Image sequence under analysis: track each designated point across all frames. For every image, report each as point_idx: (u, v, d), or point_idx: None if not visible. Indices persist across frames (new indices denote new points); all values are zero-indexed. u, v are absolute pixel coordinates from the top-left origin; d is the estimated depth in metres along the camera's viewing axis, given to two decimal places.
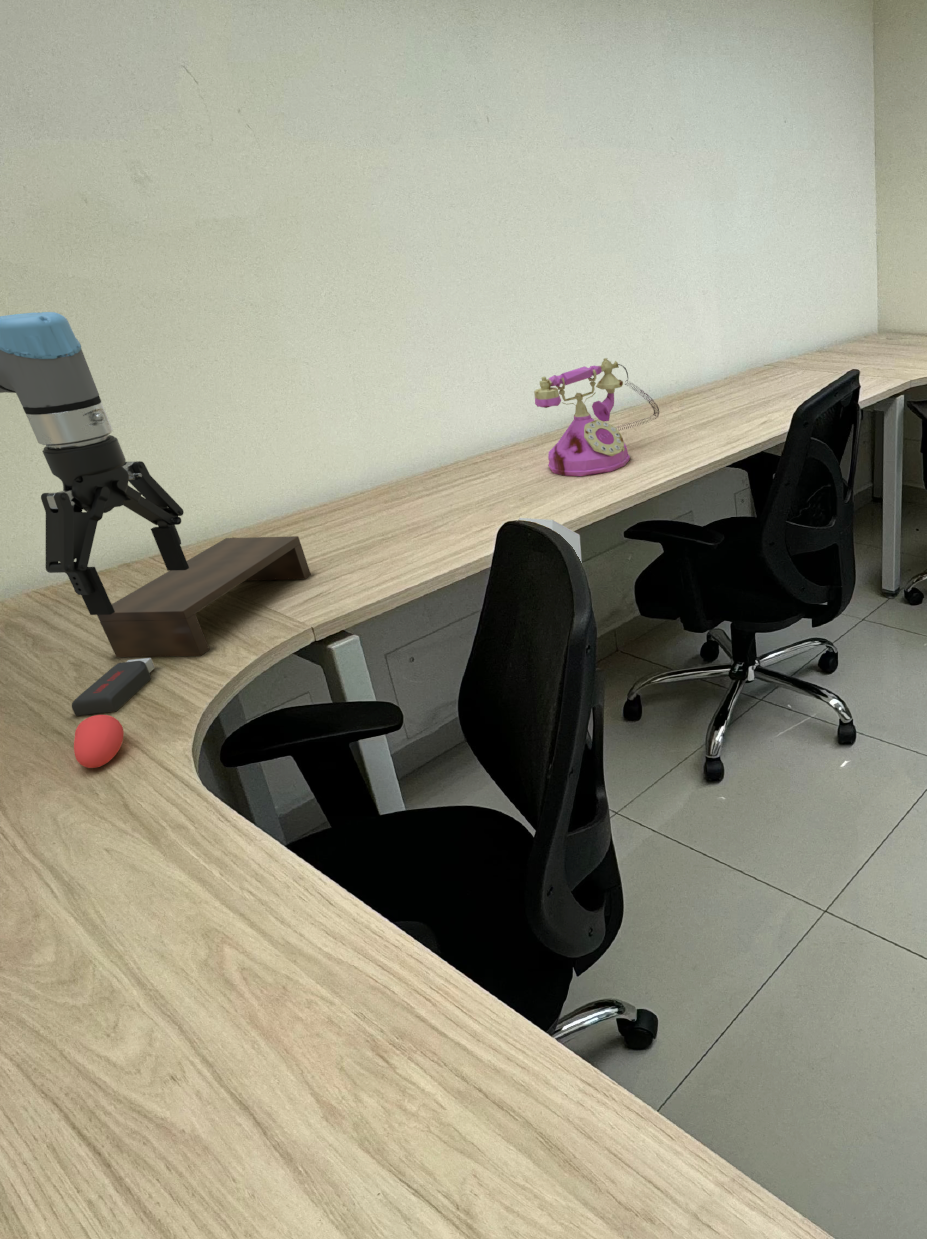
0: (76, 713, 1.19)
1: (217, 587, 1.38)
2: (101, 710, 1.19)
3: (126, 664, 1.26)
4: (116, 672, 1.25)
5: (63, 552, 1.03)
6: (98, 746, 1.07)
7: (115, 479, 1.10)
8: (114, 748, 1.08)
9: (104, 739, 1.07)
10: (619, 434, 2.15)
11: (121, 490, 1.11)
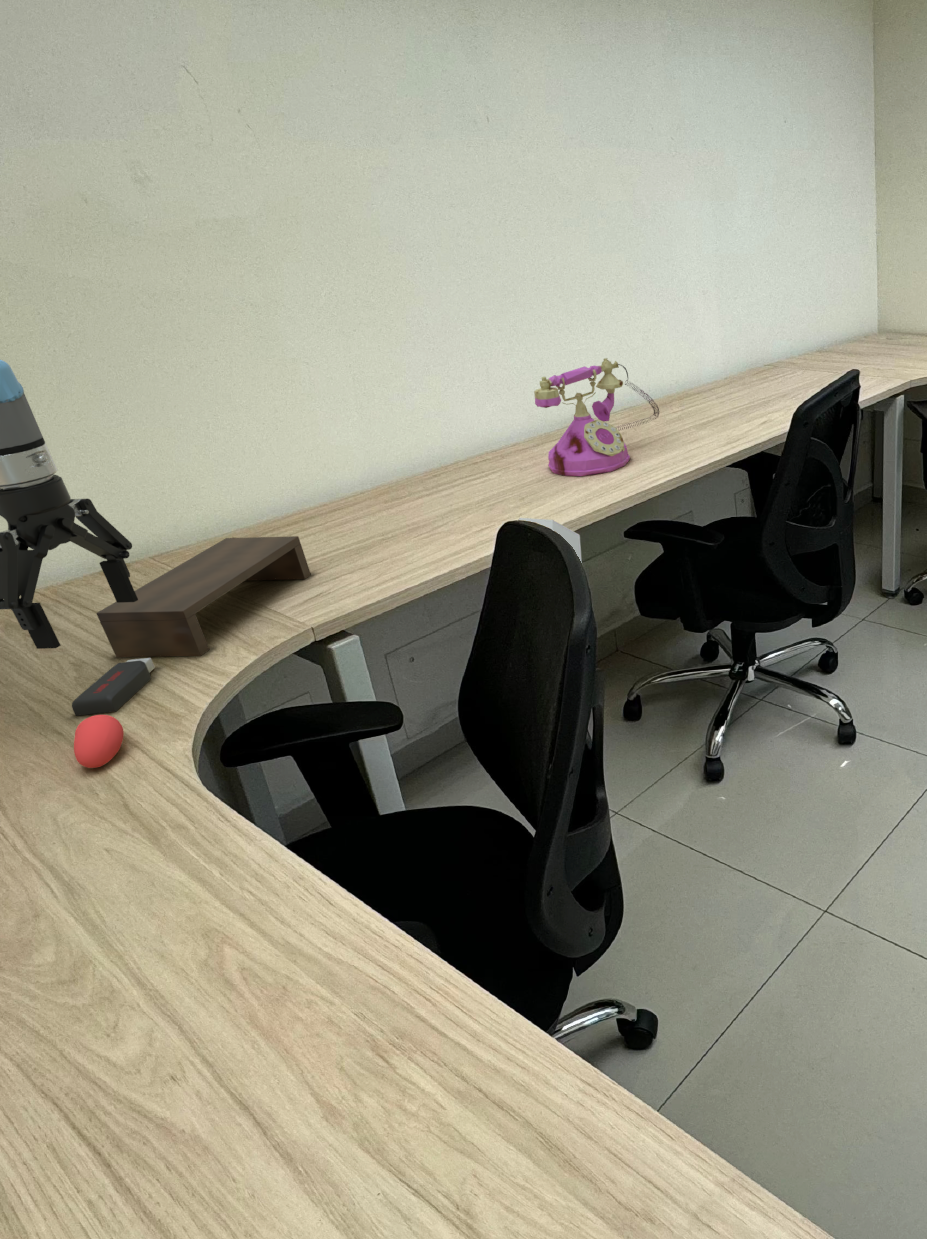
0: (76, 713, 1.19)
1: (217, 587, 1.38)
2: (101, 710, 1.19)
3: (126, 664, 1.26)
4: (116, 672, 1.25)
5: (7, 590, 1.07)
6: (98, 746, 1.07)
7: (60, 516, 1.14)
8: (114, 748, 1.08)
9: (104, 739, 1.07)
10: (619, 434, 2.15)
11: (67, 527, 1.15)
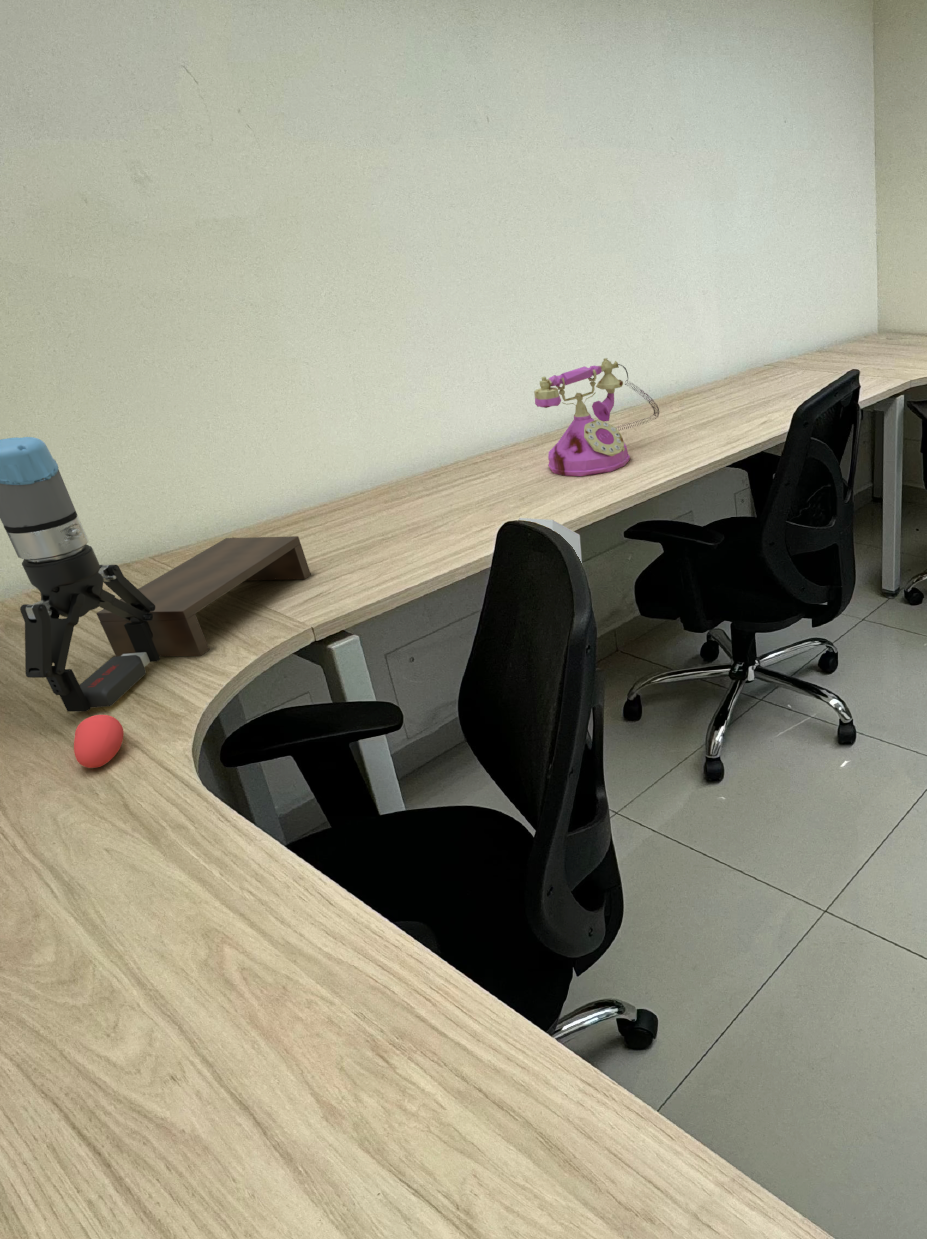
0: None
1: (217, 587, 1.38)
2: (96, 704, 1.19)
3: (121, 658, 1.26)
4: (111, 666, 1.24)
5: (42, 659, 1.12)
6: (98, 746, 1.07)
7: (90, 584, 1.19)
8: (114, 748, 1.08)
9: (104, 739, 1.07)
10: (619, 434, 2.15)
11: (96, 594, 1.19)
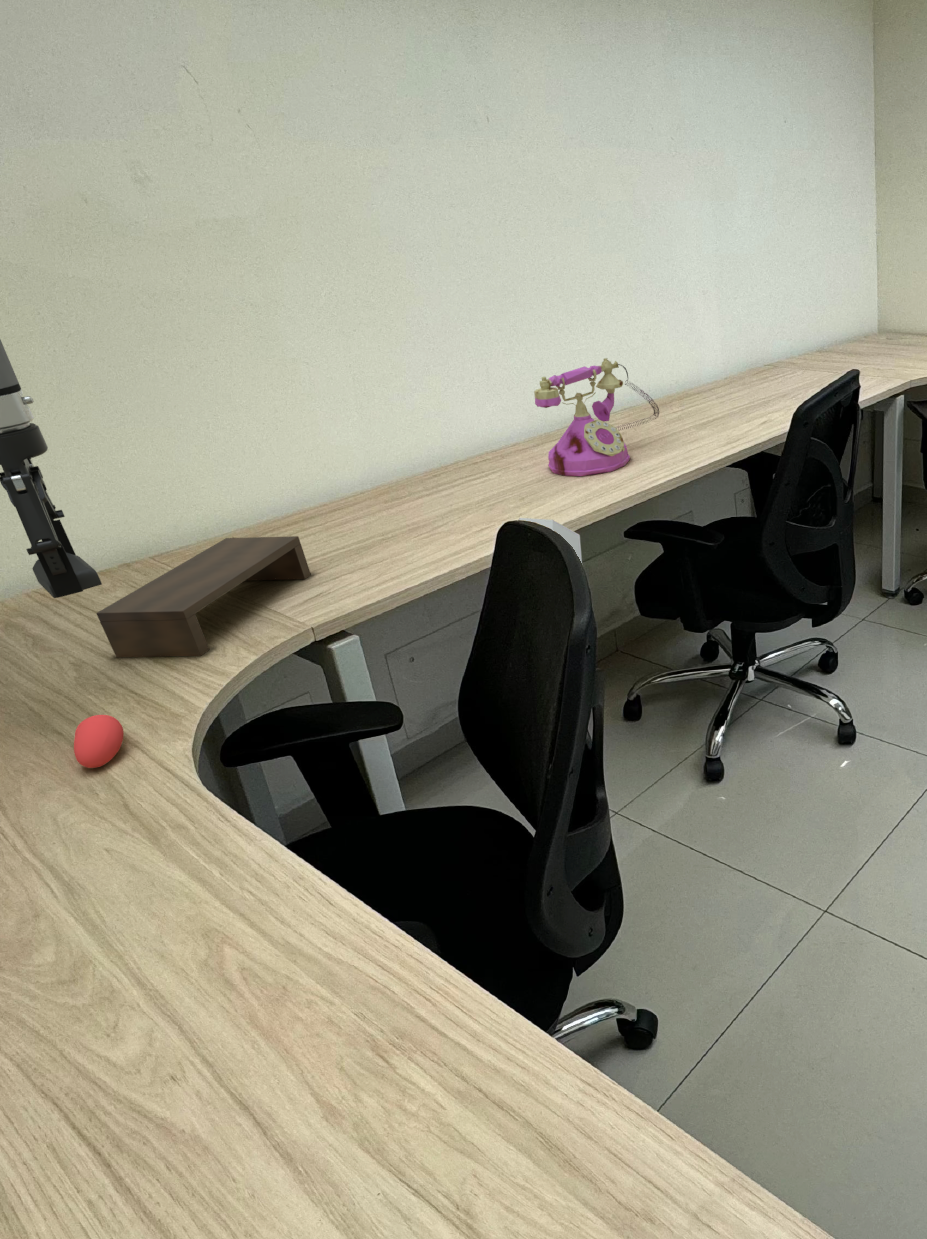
0: (55, 594, 1.11)
1: (217, 587, 1.38)
2: (85, 585, 1.14)
3: None
4: None
5: (49, 528, 1.07)
6: (98, 746, 1.07)
7: (30, 466, 1.12)
8: (114, 748, 1.08)
9: (104, 739, 1.07)
10: (619, 434, 2.15)
11: (41, 476, 1.12)
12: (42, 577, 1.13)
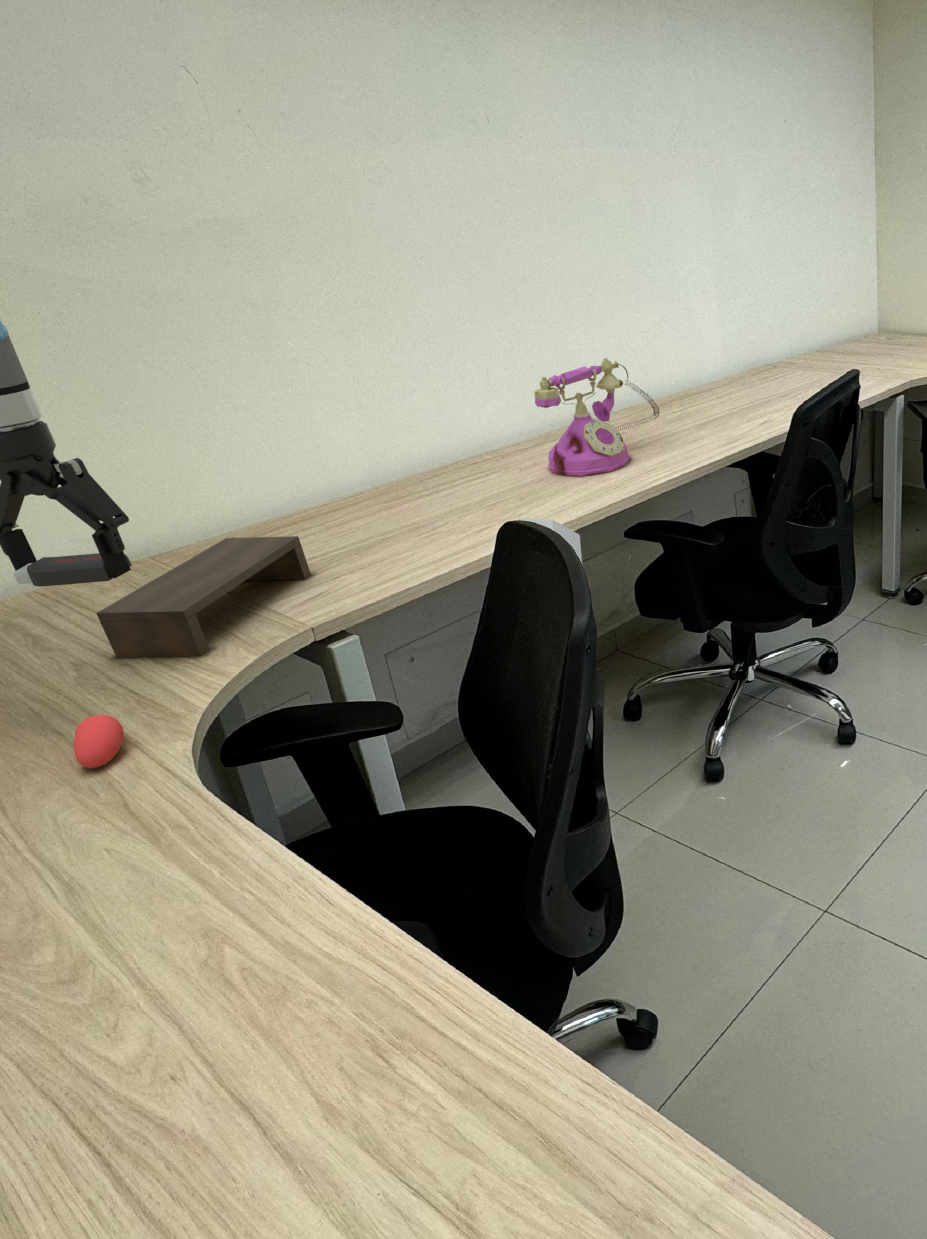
0: (109, 577, 1.16)
1: (217, 587, 1.38)
2: None
3: (39, 562, 1.16)
4: (55, 562, 1.16)
5: (116, 505, 1.14)
6: (98, 746, 1.07)
7: None
8: (114, 748, 1.08)
9: (104, 739, 1.07)
10: (619, 434, 2.15)
11: None
12: (77, 568, 1.15)
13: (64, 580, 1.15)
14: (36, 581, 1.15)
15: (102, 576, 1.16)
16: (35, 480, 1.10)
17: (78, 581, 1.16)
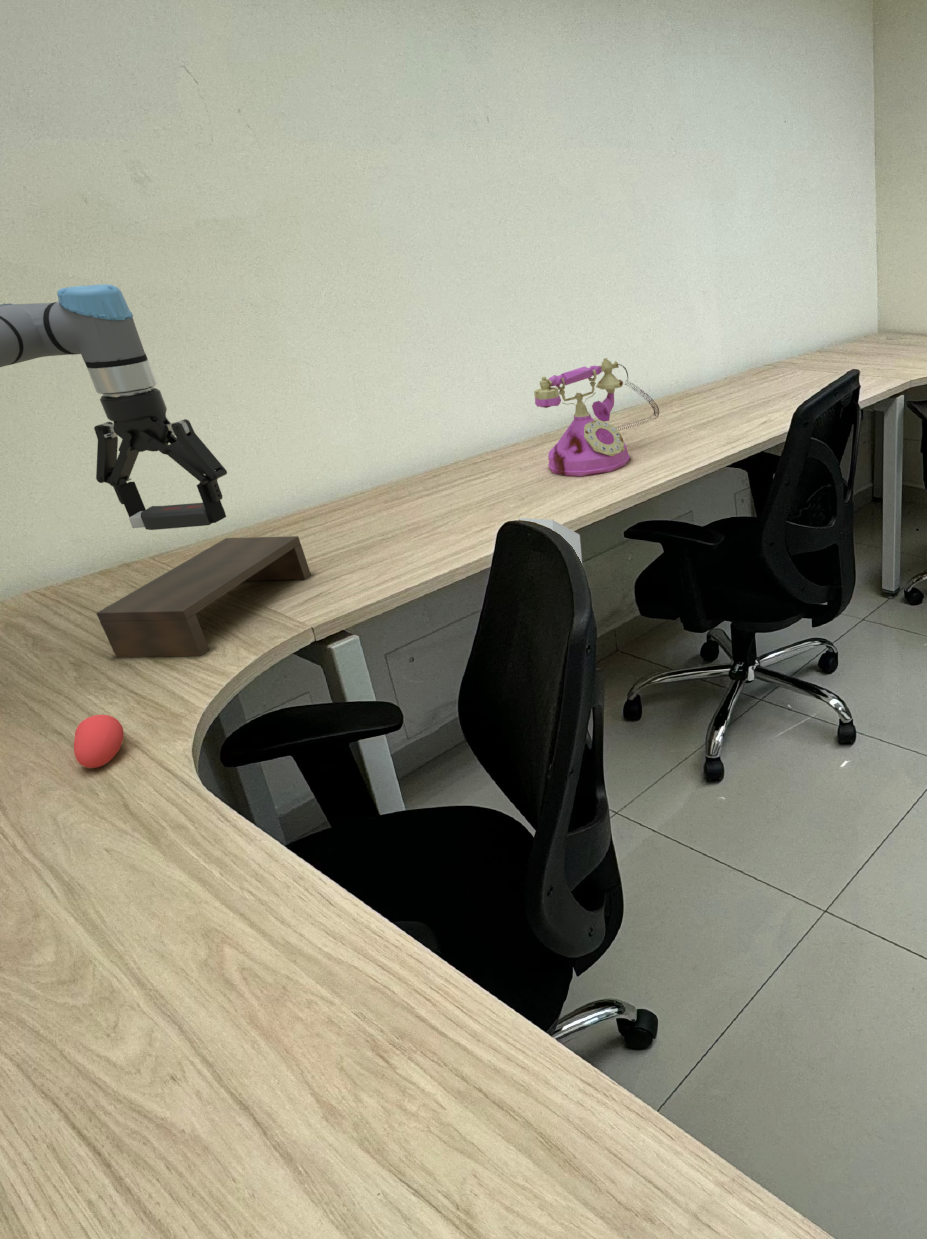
0: None
1: (217, 587, 1.38)
2: None
3: (150, 509, 1.36)
4: (163, 509, 1.37)
5: (216, 460, 1.35)
6: (98, 746, 1.07)
7: None
8: (114, 748, 1.08)
9: (104, 739, 1.07)
10: (619, 434, 2.15)
11: None
12: (183, 514, 1.35)
13: (172, 524, 1.36)
14: (148, 525, 1.35)
15: (204, 521, 1.36)
16: (151, 437, 1.30)
17: (183, 525, 1.36)
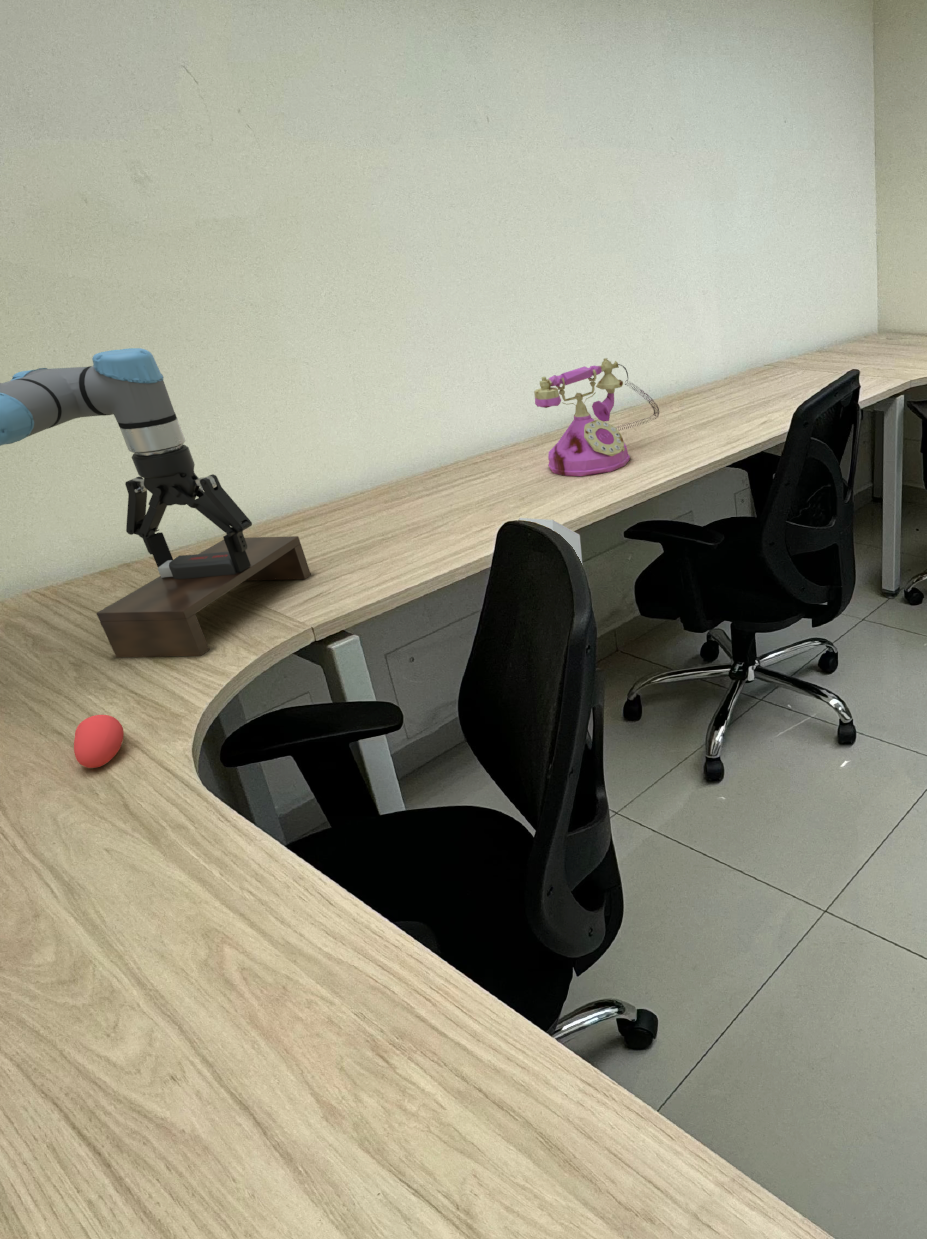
0: (235, 571, 1.42)
1: (217, 587, 1.38)
2: None
3: (177, 559, 1.42)
4: (190, 559, 1.42)
5: (242, 512, 1.40)
6: (98, 746, 1.07)
7: None
8: (114, 748, 1.08)
9: (104, 739, 1.07)
10: (619, 434, 2.15)
11: None
12: (209, 564, 1.41)
13: (199, 574, 1.41)
14: (176, 575, 1.41)
15: (230, 570, 1.42)
16: (180, 492, 1.36)
17: (210, 574, 1.41)
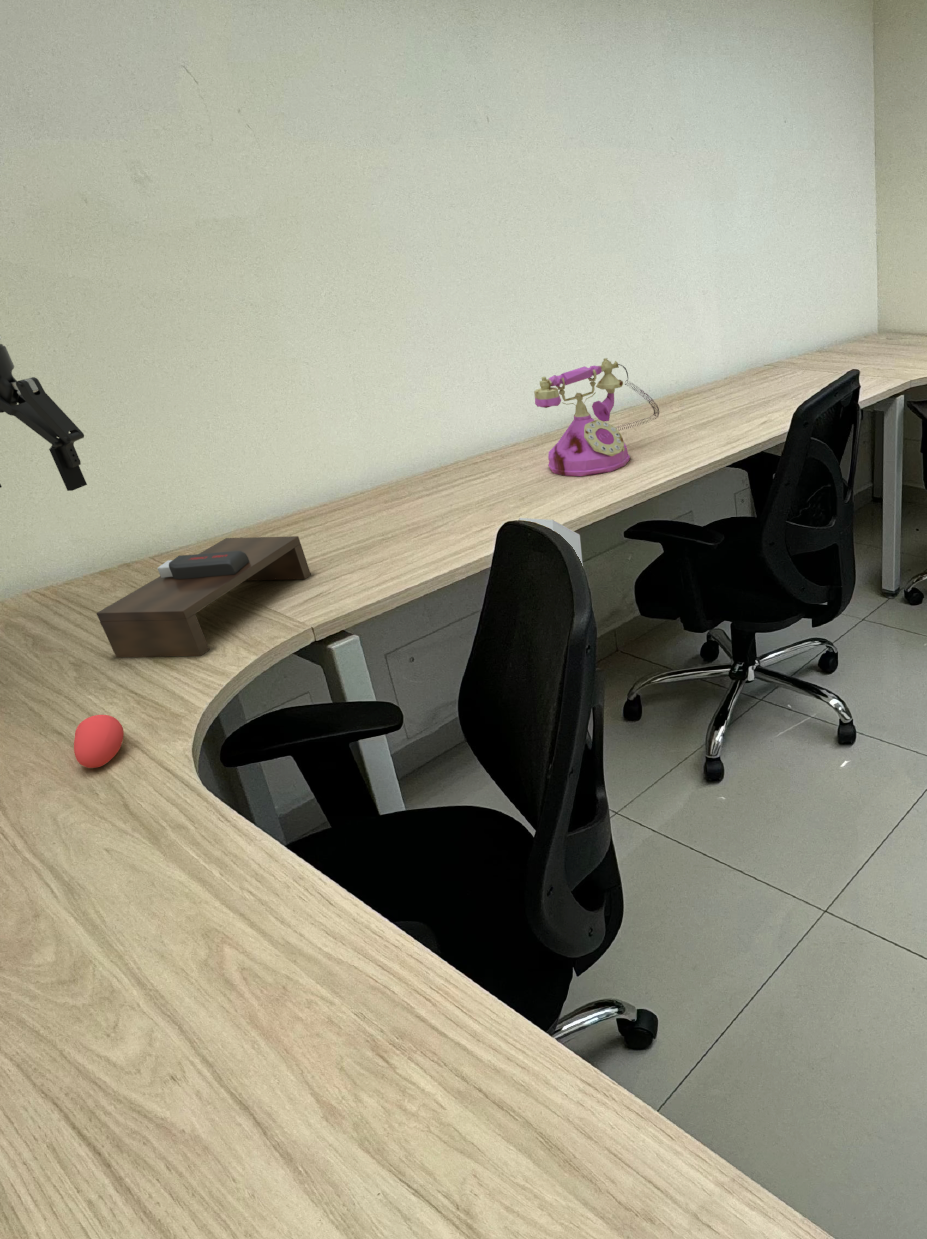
0: (235, 571, 1.42)
1: (217, 587, 1.38)
2: (244, 563, 1.45)
3: (177, 559, 1.42)
4: (190, 559, 1.42)
5: (71, 422, 1.24)
6: (98, 746, 1.07)
7: None
8: (114, 748, 1.08)
9: (104, 739, 1.07)
10: (619, 434, 2.15)
11: None
12: (209, 564, 1.41)
13: (199, 574, 1.41)
14: (176, 575, 1.41)
15: (229, 570, 1.42)
16: None
17: (210, 575, 1.41)
